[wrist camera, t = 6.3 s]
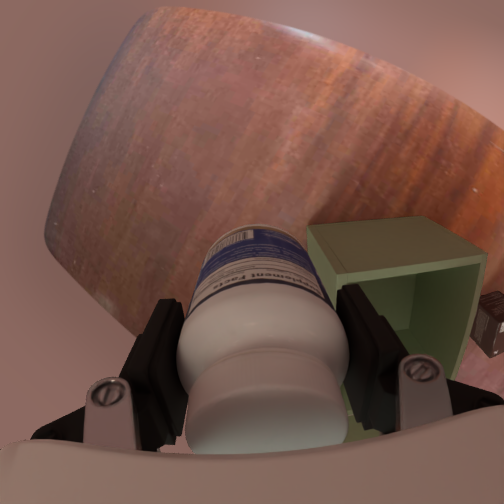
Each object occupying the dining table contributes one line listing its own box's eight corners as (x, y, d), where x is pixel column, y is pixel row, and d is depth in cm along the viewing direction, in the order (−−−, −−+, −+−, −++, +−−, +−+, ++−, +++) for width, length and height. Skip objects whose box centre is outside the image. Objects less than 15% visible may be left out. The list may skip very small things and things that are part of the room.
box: (491, 322, 39) (515, 347, 32) (464, 332, 39) (488, 359, 32) (498, 289, 37) (527, 312, 30) (471, 297, 37) (500, 323, 30)
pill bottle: (296, 327, 17) (331, 488, 8) (196, 310, 16) (157, 474, 7) (324, 232, 15) (417, 369, 6) (212, 210, 14) (156, 338, 5)
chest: (306, 225, 33) (336, 274, 21) (423, 215, 33) (488, 253, 21) (309, 345, 38) (329, 418, 27) (410, 328, 38) (451, 388, 27)
